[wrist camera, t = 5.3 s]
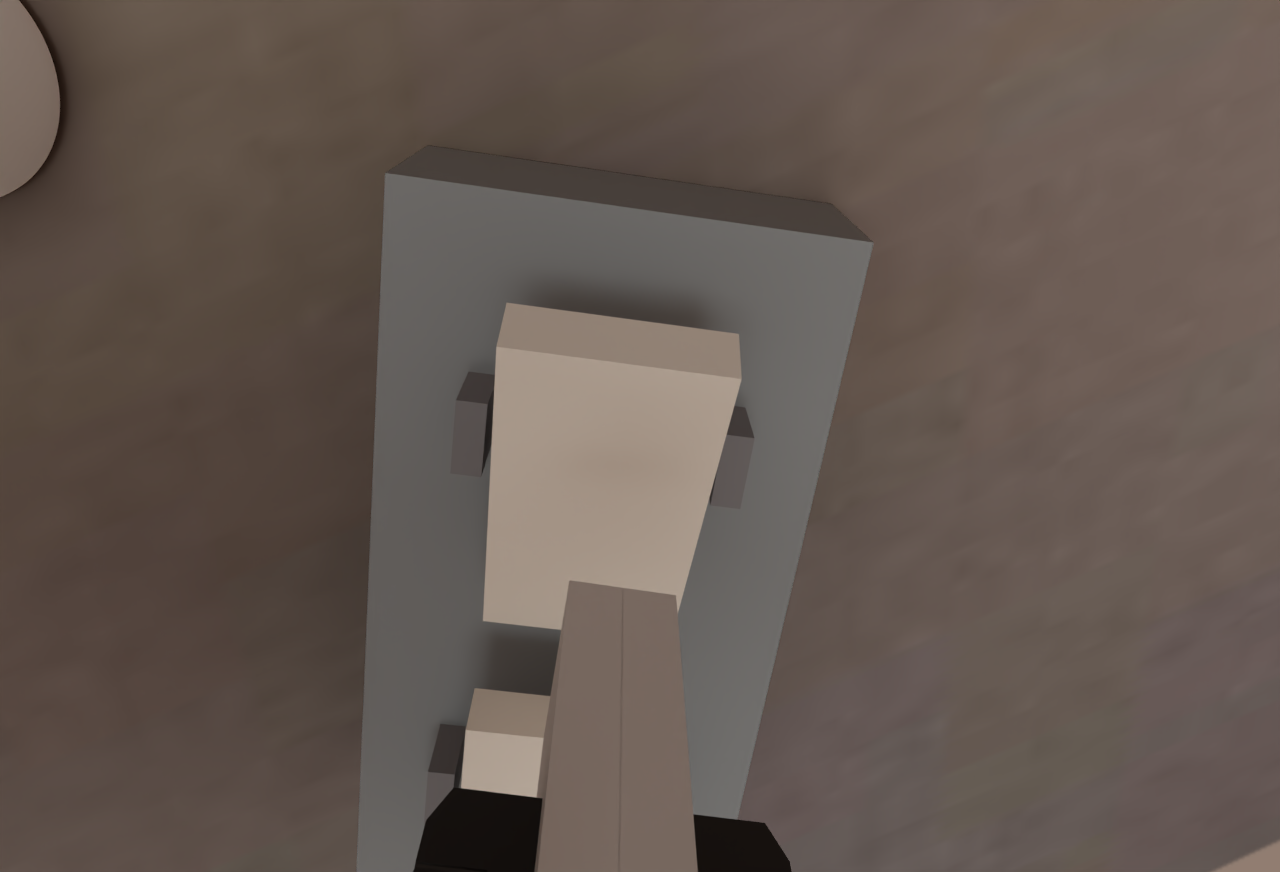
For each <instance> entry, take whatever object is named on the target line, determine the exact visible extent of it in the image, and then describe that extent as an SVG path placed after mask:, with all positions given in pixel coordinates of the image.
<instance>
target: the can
mask: <svg viewBox="0 0 1280 872" xmlns="http://www.w3.org/2000/svg"><path fill="white" fill-rule="evenodd" d="M59 116H60V94H59V86H58V80H57V75H56V71H55V67H54V63H53V60H52V57H51V54H50V52H49V49H48V47H47V45H46V42H45V40H44V38H43V36H42V34H41V32H40V30H39V29H38V27H37V25H36V23H35V22H34V20H33V19H32V17H31V16H30V14H29V13H28V11H27V10H26V9H25V7H24V6H23V5H22V3H21V2H20V1H19V0H0V197H2V196H4V195H6V194H9V193H10V192H12V191H14V190H16V189H18V188H19V187H21V186H22V185H23V184H25V183H26V182H27V181H28V180H29V179H31V178H32V177H33V176H34V175H35V173H36V172H37V171H38V170H39V169H40V167H41V166H42V165H43V163H44V162H45V160H46V158H47V157H48V155H49V153H50V151H51V149H52V146H53V143H54V141H55V137H56V134H57V130H58V124H59Z"/></svg>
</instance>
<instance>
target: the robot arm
mask: <svg viewBox="0 0 1280 872" xmlns="http://www.w3.org/2000/svg"><path fill="white" fill-rule="evenodd" d="M413 872H791V867H790V861H789V860H788V858H787V857H786V855H785V854H784V852H783V851H782V849H781V847H780V846H779V844H778V843H777V841H776V840H775V838H774V837H773V835H772V833H771V832H770V830H769V829H768V827H767V826H766V824H765V823H760V822H752V821H744V820H736V819H728V818H720V817H712V816H704V815H696V814H693V804H692V792H691V779H690V766H689V753H688V740H687V728H686V715H685V702H684V689H683V676H682V664H681V651H680V638H679V625H678V613H677V600H676V595H671V594H664V593H657V592H650V591H642V590H635V589H628V588H621V587H614V586H607V585H600V584H593V583H586V582H579V581H571V580H569V586H568V592H567V598H566V604H565V610H564V616H563V622H562V628H561V634H560V641H559V647H558V653H557V659H556V665H555V671H554V677H553V683H552V689H551V695H550V702H549V708H548V714H547V720H546V726H545V732H544V739H543V747H542V755H541V764H540V772H539V780H538V788H537V797H528V796H520V795H512V794H504V793H496V792H488V791H480V790H471V789H463V788H455V787H454V788H453V789H452V790H451V791H450V792H449V794H448V795H447V796H446V797H445V798H444V799H443V801H442V802H441V803H440V804H439V805H438V807H437V808H436V809H435V810H434V811H433V812H432V814H431V815H430V816H429V817H428V818H427V820H426V822H425V826H424V830H423V834H422V838H421V842H420V846H419V850H418V854H417V858H416V862H415V867H414V870H413Z"/></svg>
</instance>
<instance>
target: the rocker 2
mask: <svg viewBox="0 0 1280 872" xmlns="http://www.w3.org/2000/svg"><path fill="white" fill-rule="evenodd" d="M741 380H742V376H741V359H740V343H739V334H736V333H728V332H721V331H713V330H706V329H699V328H691V327H684V326H676V325H669V324H662V323H654V322H647V321H639V320H632V319H625V318H617V317H610V316H602V315H595V314H587V313H580V312H573V311H565V310H558V309H550V308H543V307H536V306H528V305H521V304H513V303H506V308H505V312H504V316H503V320H502V325H501V329H500V333H499V338H498V342H497V346H496V364H495V384H494V405H493V425H492V445H491V466H490V486H489V506H488V527H487V547H486V568H485V588H484V608H483V621H487V622H496V623H505V624H514V625H522V626H531V627H540V628H549V629H558V630H561V628H562V622H563V616H564V610H565V604H566V598H567V592H568V586H569V580H571V581H579V582H586V583H593V584H600V585H607V586H614V587H621V588H628V589H635V590H642V591H650V592H657V593H664V594H671V595H676V600H677V613H678V611H679V607H680V604H681V600H682V596H683V593H684V589H685V585H686V582H687V578H688V574H689V571H690V567H691V563H692V560H693V556H694V552H695V549H696V545H697V541H698V538H699V534H700V530H701V527H702V523H703V519H704V516H705V512H706V508H707V505H708V501H709V497H710V494H711V490H712V486H713V483H714V479H715V475H716V472H717V468H718V464H719V461H720V457H721V453H722V450H723V446H724V442H725V438H726V435H727V431H728V427H729V424H730V420H731V416H732V413H733V409H734V405H735V402H736V398H737V394H738V391H739V387H740V383H741Z"/></svg>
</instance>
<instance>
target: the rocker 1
mask: <svg viewBox="0 0 1280 872" xmlns="http://www.w3.org/2000/svg"><path fill="white" fill-rule="evenodd" d="M549 702H550V696H544V695H534V694H525V693H516V692H507V691H498V690H488V689H479V688H475V689H474V694H473V698H472V703H471V708H470V712H469V717H468V722H467V726H466V733H465V745H464V757H463V769H462V781H461V788H463V789H471V790H480V791H488V792H496V793H504V794H512V795H520V796H528V797H537V788H538V780H539V772H540V764H541V755H542V747H543V739H544V732H545V726H546V720H547V714H548V708H549Z"/></svg>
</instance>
